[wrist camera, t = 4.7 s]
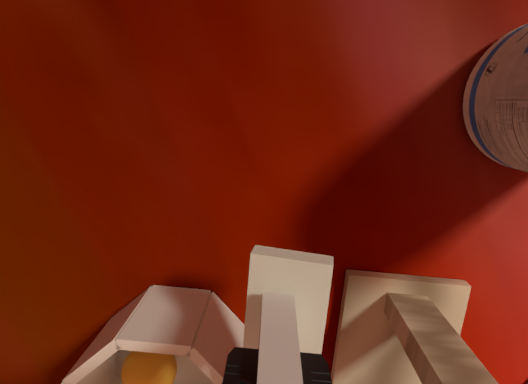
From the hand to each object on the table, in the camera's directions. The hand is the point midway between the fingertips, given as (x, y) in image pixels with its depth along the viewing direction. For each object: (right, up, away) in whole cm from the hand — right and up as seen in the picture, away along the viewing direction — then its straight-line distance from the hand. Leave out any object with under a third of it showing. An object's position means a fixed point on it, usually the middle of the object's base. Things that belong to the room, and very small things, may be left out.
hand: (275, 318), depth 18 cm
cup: (-7, -7, +12) cm, 16 cm away
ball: (-9, -7, +10) cm, 15 cm away
